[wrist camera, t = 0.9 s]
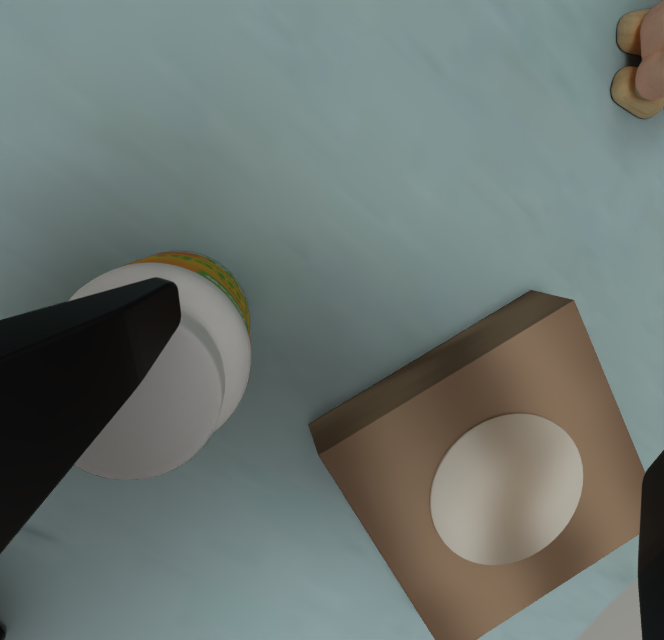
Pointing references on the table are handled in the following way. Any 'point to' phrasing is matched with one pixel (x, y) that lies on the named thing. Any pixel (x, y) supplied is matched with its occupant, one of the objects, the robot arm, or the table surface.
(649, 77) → the grandmother figurine
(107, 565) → the table surface
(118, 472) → the supplement bottle
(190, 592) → the table surface
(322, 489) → the table surface
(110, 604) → the table surface
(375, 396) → the walnut base
